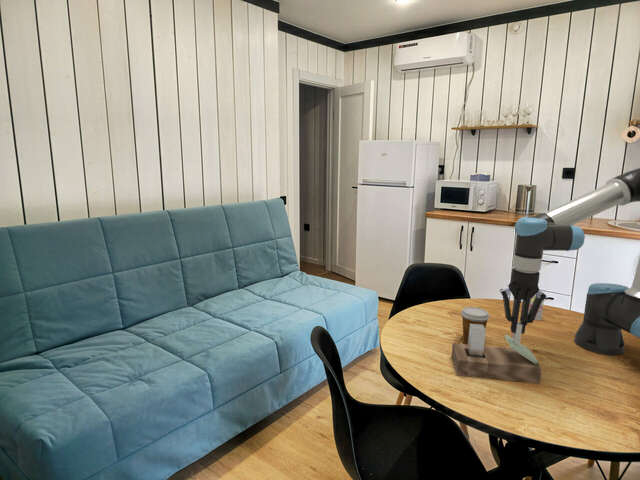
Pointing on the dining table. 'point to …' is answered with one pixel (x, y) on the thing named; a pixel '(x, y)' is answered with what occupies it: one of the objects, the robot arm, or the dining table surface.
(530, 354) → the plate
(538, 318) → the tea bag
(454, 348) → the walnut block
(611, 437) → the dining table surface
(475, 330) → the steel pin
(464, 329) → the disposable coffee cup
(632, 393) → the dining table surface
